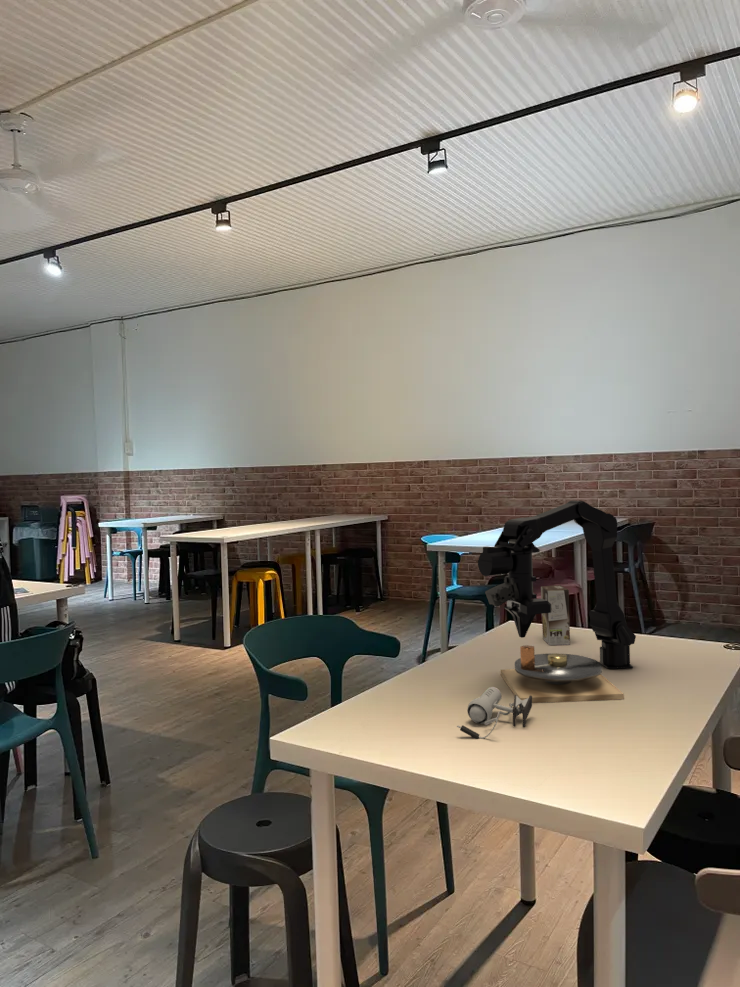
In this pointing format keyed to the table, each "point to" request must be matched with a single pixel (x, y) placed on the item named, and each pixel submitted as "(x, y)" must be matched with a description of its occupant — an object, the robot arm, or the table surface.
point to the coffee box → (556, 615)
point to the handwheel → (556, 666)
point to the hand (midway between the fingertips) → (522, 637)
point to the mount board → (560, 688)
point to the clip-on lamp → (487, 702)
